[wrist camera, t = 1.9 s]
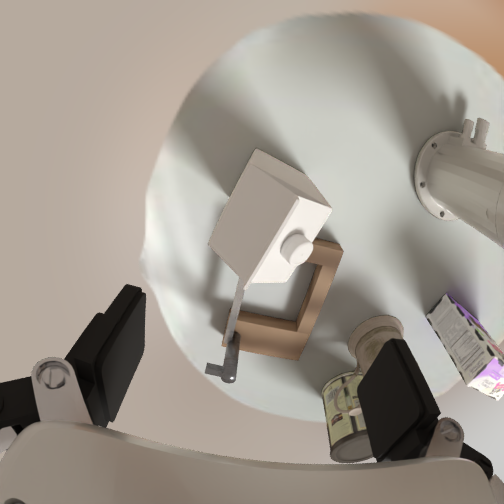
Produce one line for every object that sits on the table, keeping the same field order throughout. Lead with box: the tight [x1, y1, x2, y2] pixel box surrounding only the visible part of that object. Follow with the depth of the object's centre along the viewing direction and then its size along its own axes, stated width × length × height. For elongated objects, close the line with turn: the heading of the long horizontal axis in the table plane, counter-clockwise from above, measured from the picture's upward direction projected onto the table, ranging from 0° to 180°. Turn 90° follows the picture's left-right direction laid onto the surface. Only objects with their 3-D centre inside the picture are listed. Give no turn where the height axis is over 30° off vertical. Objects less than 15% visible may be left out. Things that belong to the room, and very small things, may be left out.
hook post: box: [205, 331, 241, 383], centre depth 39 cm, size 2×4×8 cm, turn 77°
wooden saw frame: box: [222, 238, 344, 360], centre depth 41 cm, size 19×12×2 cm, turn 167°
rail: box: [224, 277, 245, 344], centre depth 40 cm, size 16×1×4 cm, turn 167°
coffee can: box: [322, 372, 373, 463], centre depth 44 cm, size 10×10×14 cm
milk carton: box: [208, 148, 332, 290], centre depth 28 cm, size 7×7×19 cm
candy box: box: [426, 293, 504, 401], centre depth 36 cm, size 14×6×16 cm, turn 59°
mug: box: [334, 315, 418, 416], centre depth 41 cm, size 14×10×12 cm
